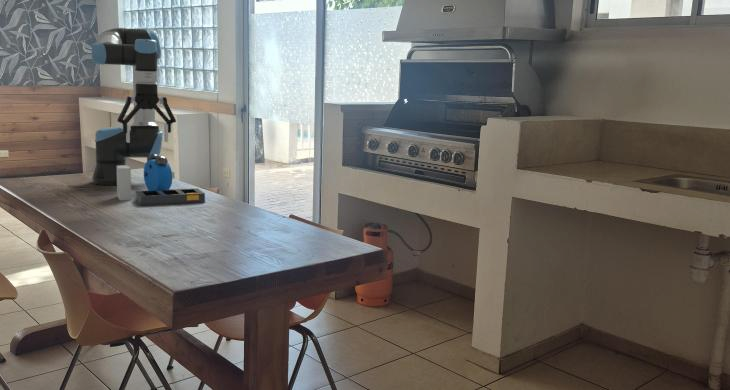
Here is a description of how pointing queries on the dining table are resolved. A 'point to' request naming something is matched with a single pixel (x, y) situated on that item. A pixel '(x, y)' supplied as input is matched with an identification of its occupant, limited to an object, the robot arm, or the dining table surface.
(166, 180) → the alarm clock
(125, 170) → the pale grey rectangular block
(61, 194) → the dining table surface
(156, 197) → the rack
